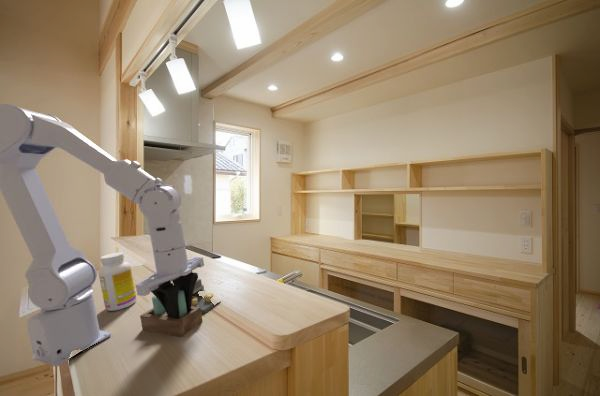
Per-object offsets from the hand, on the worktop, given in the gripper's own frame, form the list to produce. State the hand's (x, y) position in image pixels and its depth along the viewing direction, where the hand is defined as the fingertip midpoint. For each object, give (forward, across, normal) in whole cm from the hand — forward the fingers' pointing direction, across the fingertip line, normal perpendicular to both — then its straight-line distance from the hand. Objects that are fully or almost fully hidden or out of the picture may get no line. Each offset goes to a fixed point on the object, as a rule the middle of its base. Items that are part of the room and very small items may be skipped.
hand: (180, 313), depth 57 cm
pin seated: (+3, 0, +5) cm, 6 cm away
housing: (+3, +8, +9) cm, 12 cm away
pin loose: (+2, 0, 0) cm, 2 cm away
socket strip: (+3, 0, +3) cm, 4 cm away
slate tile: (+3, +8, +2) cm, 9 cm away
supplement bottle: (+3, +4, +24) cm, 25 cm away
